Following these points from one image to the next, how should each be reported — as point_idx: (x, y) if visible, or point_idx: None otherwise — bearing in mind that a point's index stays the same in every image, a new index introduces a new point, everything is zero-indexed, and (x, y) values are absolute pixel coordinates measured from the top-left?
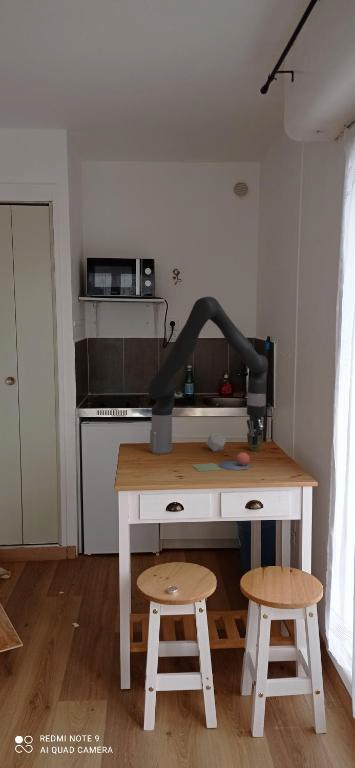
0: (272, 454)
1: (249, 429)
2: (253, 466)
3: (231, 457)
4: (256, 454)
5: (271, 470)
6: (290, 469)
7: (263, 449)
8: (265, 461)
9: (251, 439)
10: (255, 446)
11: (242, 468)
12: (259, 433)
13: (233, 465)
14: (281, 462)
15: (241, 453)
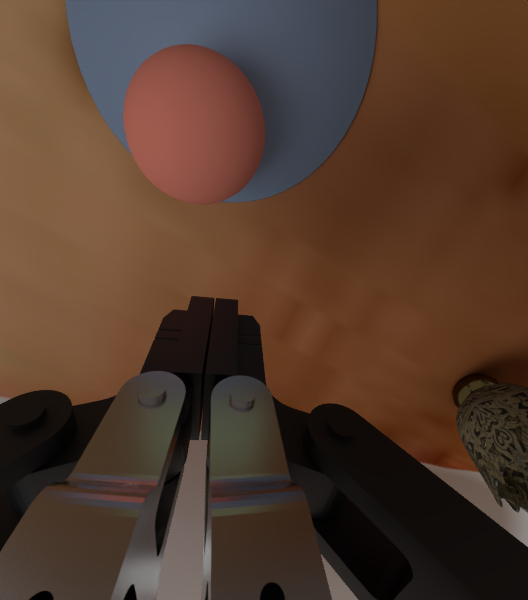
0: None
1: (374, 478)
2: (162, 208)
3: (450, 184)
4: (404, 362)
5: (33, 273)
6: (51, 378)
7: (453, 425)
8: None
9: (234, 333)
10: (467, 401)
11: (95, 59)
12: (14, 511)
13: (220, 30)
14: None
15: (176, 96)
